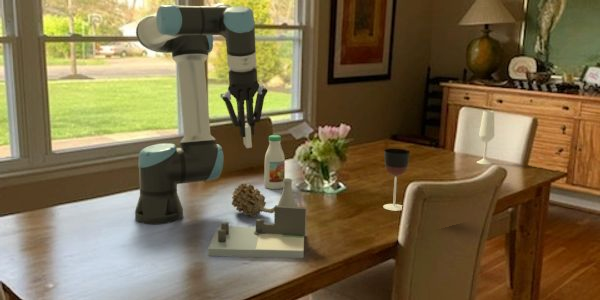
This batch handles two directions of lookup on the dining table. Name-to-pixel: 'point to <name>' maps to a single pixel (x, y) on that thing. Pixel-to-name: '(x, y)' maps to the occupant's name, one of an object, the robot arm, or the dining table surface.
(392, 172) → the wineglass
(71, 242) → the dining table surface
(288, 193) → the flask
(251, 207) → the pine cone
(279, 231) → the gate
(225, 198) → the dining table surface
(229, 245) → the board
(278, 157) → the milk bottle
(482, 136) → the champagne flute
